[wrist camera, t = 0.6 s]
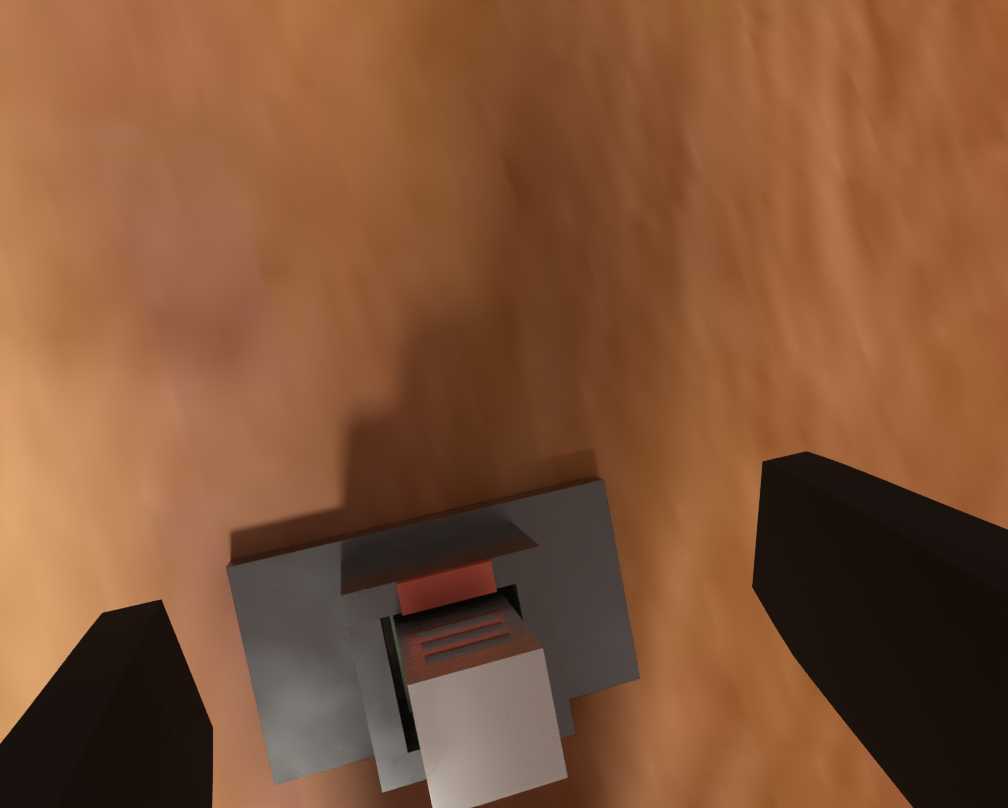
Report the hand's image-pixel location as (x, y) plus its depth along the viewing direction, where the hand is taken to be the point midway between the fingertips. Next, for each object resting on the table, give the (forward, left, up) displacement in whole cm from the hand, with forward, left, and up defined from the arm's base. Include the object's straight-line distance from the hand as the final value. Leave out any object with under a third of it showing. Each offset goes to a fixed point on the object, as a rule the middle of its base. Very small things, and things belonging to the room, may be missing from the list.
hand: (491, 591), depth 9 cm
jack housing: (-7, -1, -20) cm, 21 cm away
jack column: (-7, -1, -18) cm, 20 cm away
